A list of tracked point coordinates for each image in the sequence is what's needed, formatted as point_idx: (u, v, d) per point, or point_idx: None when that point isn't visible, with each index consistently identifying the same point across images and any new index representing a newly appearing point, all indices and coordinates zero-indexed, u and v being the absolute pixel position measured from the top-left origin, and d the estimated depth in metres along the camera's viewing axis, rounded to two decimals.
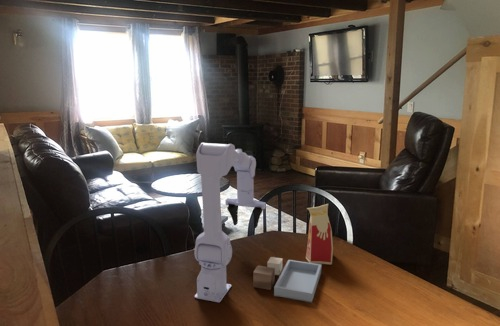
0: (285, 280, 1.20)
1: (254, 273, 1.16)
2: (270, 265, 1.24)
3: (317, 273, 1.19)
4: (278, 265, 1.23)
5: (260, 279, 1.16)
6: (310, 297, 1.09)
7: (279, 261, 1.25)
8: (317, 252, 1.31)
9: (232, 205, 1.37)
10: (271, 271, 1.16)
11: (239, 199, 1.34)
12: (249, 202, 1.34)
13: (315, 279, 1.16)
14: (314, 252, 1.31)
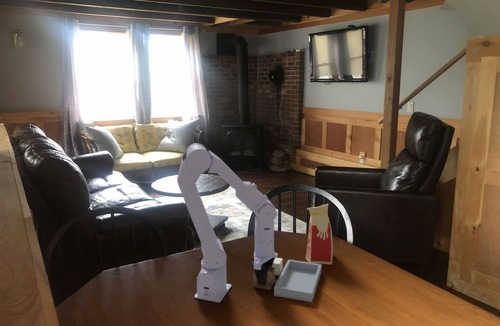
0: (285, 280, 1.20)
1: (254, 273, 1.16)
2: None
3: (317, 273, 1.19)
4: (278, 265, 1.23)
5: None
6: (310, 297, 1.09)
7: (279, 261, 1.25)
8: (317, 252, 1.31)
9: None
10: (271, 271, 1.16)
11: None
12: (256, 253, 1.14)
13: (315, 279, 1.16)
14: (314, 252, 1.31)
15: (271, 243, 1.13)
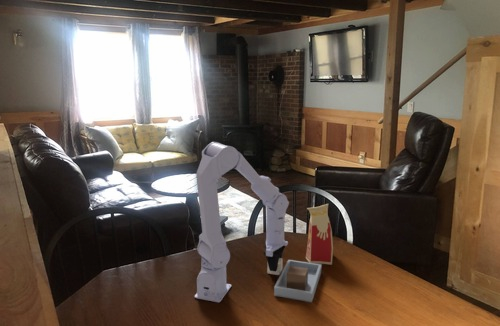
0: (285, 280, 1.20)
1: (288, 273, 1.15)
2: None
3: (317, 273, 1.19)
4: (278, 265, 1.23)
5: (294, 280, 1.14)
6: (310, 297, 1.09)
7: (279, 261, 1.25)
8: (317, 252, 1.31)
9: None
10: (305, 272, 1.15)
11: None
12: (267, 242, 1.22)
13: (315, 279, 1.16)
14: (314, 252, 1.31)
15: (282, 232, 1.21)
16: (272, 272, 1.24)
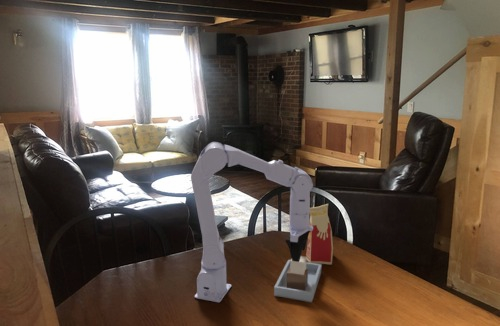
0: (285, 280, 1.20)
1: (288, 273, 1.15)
2: (293, 263, 1.14)
3: (317, 273, 1.19)
4: (302, 264, 1.13)
5: (294, 280, 1.14)
6: (310, 297, 1.09)
7: (303, 259, 1.14)
8: (317, 252, 1.31)
9: None
10: (305, 272, 1.15)
11: None
12: (291, 226, 1.11)
13: (315, 279, 1.16)
14: (314, 252, 1.31)
15: (307, 215, 1.10)
16: (296, 272, 1.14)
